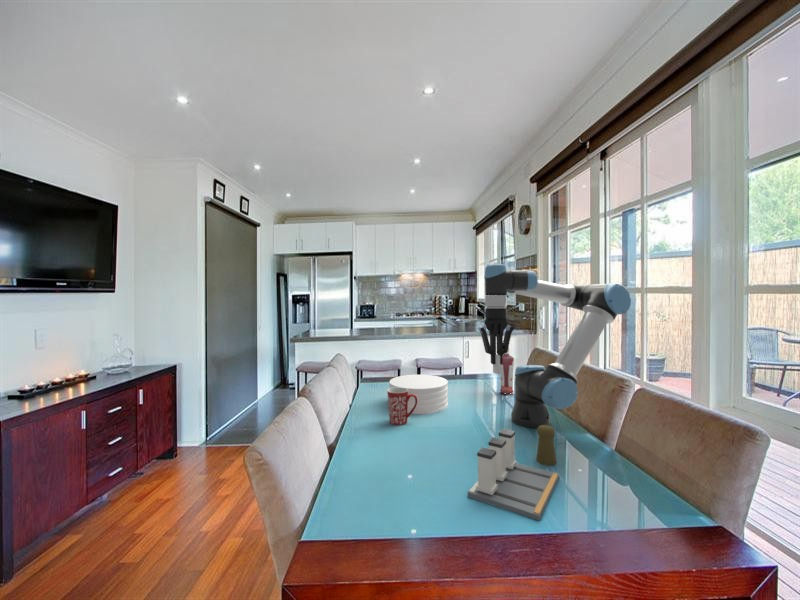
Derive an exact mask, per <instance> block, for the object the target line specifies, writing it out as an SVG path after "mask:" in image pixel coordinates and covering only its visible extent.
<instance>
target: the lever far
mask: <svg viewBox="0 0 800 600" xmlns="http://www.w3.org/2000/svg"><path fill="white" fill-rule="evenodd" d="M476 456H477V470H478V471H477V481H478V485H477V486H476V490H478V491H481V492H484V493H487V494H490V495H493V494H494V493H495V491H496V490H497V489H498V484H496V450H491V449H489V448H488V447H487V448H486V447H481V448H480V449H479V450H478V451H477V452H476Z"/></svg>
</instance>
